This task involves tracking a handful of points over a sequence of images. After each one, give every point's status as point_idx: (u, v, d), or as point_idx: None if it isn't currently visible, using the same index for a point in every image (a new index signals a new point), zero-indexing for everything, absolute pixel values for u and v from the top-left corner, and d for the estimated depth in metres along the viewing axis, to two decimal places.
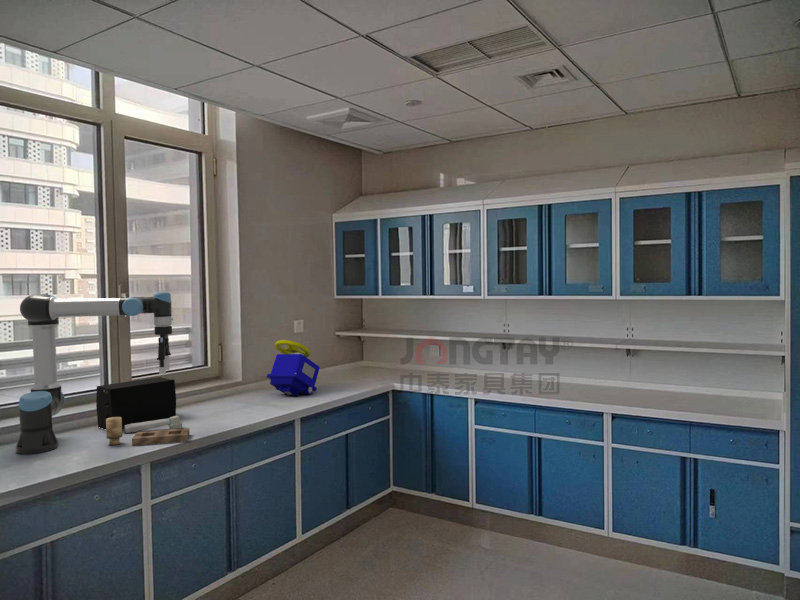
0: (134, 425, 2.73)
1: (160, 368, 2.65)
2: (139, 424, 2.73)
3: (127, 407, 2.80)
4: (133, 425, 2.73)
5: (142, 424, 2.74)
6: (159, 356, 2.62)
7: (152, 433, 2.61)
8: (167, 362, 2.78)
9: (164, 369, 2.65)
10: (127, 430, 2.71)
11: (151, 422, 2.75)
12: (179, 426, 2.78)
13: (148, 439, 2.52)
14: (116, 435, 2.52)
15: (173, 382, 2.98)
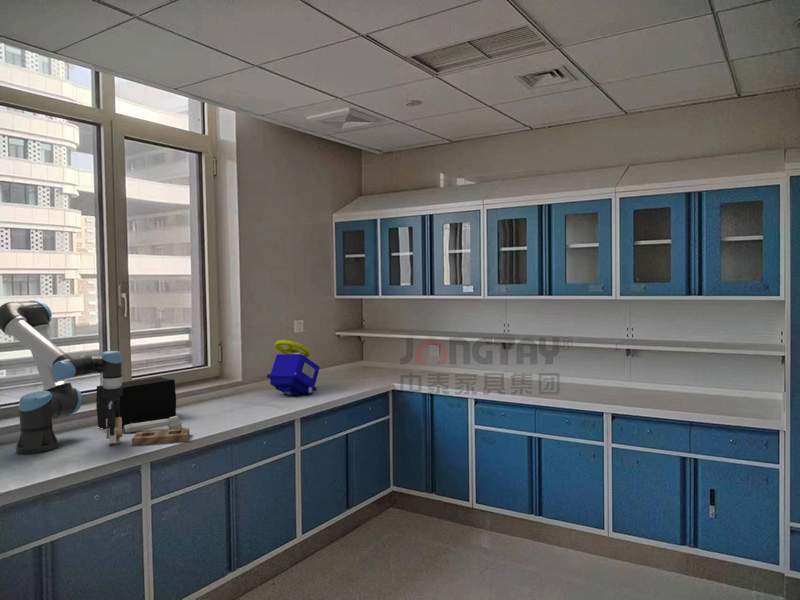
0: (133, 425, 2.73)
1: (110, 436, 2.51)
2: (138, 424, 2.73)
3: (127, 407, 2.80)
4: (132, 425, 2.72)
5: (141, 424, 2.73)
6: (108, 424, 2.48)
7: (152, 433, 2.61)
8: None
9: (114, 437, 2.51)
10: (126, 430, 2.71)
11: (150, 422, 2.75)
12: (178, 426, 2.77)
13: (148, 439, 2.52)
14: (116, 435, 2.52)
15: (173, 382, 2.99)
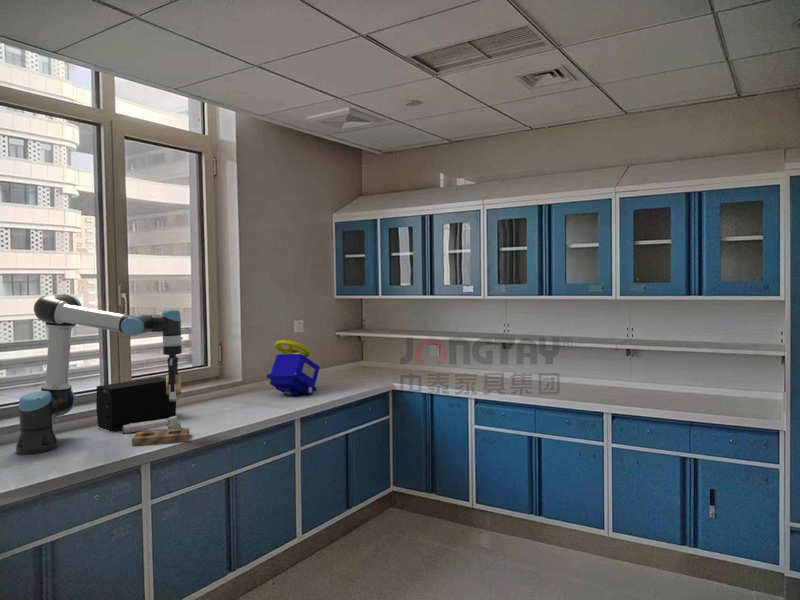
0: (133, 425, 2.72)
1: (170, 393, 2.56)
2: (138, 424, 2.73)
3: (128, 407, 2.80)
4: (132, 425, 2.72)
5: (140, 424, 2.73)
6: (169, 381, 2.53)
7: (152, 433, 2.61)
8: None
9: (175, 394, 2.57)
10: (126, 430, 2.71)
11: (149, 422, 2.75)
12: (177, 426, 2.77)
13: (148, 439, 2.52)
14: (176, 391, 2.58)
15: None
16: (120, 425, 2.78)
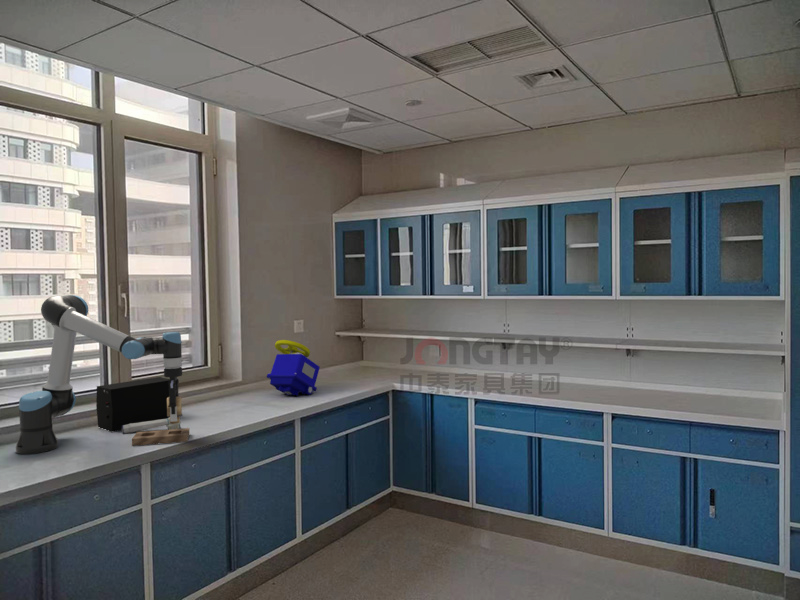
0: (132, 425, 2.72)
1: (171, 415, 2.56)
2: (137, 424, 2.73)
3: (128, 407, 2.80)
4: (131, 425, 2.72)
5: (140, 424, 2.73)
6: (170, 403, 2.54)
7: (152, 433, 2.61)
8: None
9: (175, 416, 2.57)
10: (125, 430, 2.71)
11: (149, 422, 2.75)
12: (177, 426, 2.77)
13: (148, 439, 2.52)
14: (177, 414, 2.58)
15: None
16: (120, 425, 2.78)
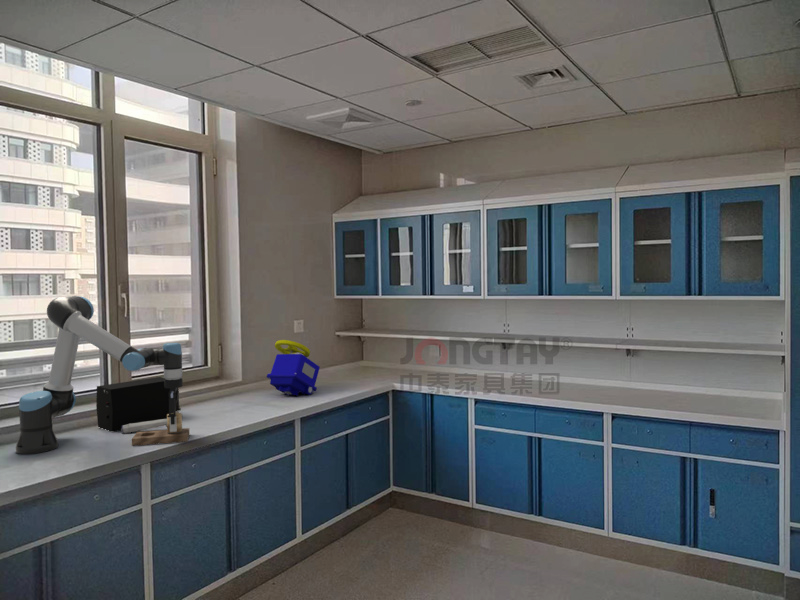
0: (132, 425, 2.72)
1: (171, 425, 2.55)
2: (137, 424, 2.73)
3: (128, 407, 2.80)
4: (131, 425, 2.72)
5: (140, 424, 2.73)
6: (170, 413, 2.52)
7: (152, 433, 2.61)
8: None
9: (175, 426, 2.55)
10: (125, 430, 2.71)
11: (149, 422, 2.74)
12: None
13: (148, 439, 2.52)
14: (177, 431, 2.58)
15: None
16: (120, 425, 2.78)
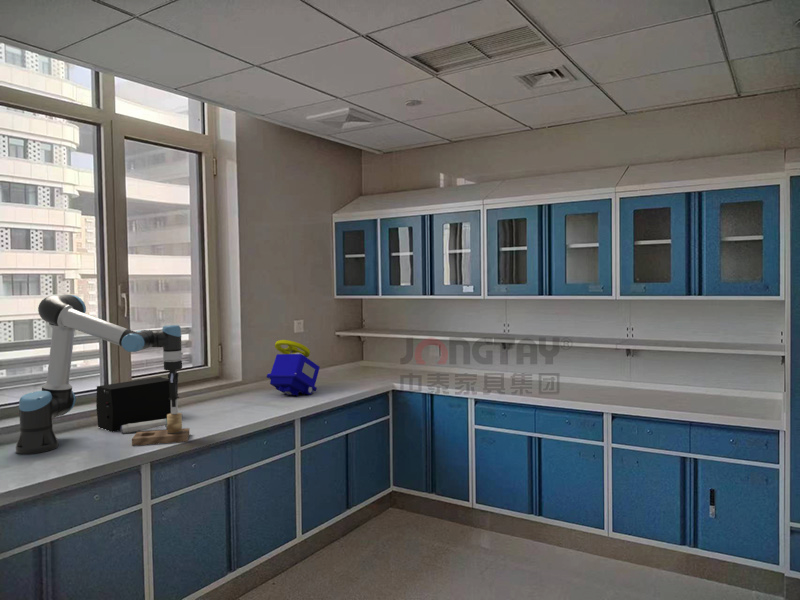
0: (131, 425, 2.72)
1: (172, 408, 2.59)
2: (136, 424, 2.73)
3: (128, 407, 2.80)
4: (130, 425, 2.72)
5: (139, 424, 2.73)
6: None
7: (152, 433, 2.61)
8: None
9: (176, 409, 2.60)
10: (124, 430, 2.71)
11: (148, 422, 2.74)
12: None
13: (148, 439, 2.52)
14: (177, 431, 2.58)
15: None
16: (120, 425, 2.78)
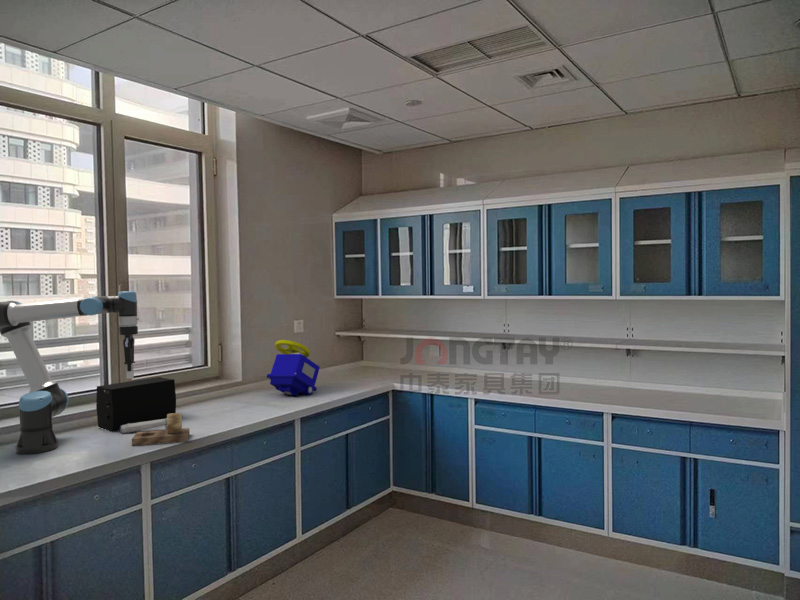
0: (130, 425, 2.72)
1: (127, 372, 2.65)
2: (135, 424, 2.73)
3: (128, 407, 2.80)
4: (129, 425, 2.72)
5: (138, 424, 2.73)
6: (126, 360, 2.62)
7: (152, 433, 2.61)
8: None
9: (132, 373, 2.65)
10: (123, 430, 2.71)
11: (147, 422, 2.74)
12: None
13: (148, 439, 2.52)
14: (177, 431, 2.58)
15: (173, 382, 2.99)
16: (120, 425, 2.78)
